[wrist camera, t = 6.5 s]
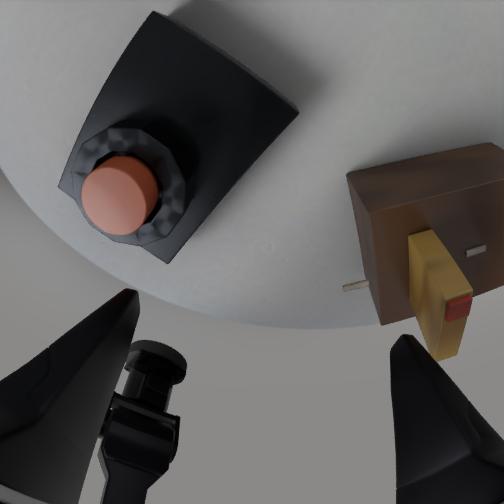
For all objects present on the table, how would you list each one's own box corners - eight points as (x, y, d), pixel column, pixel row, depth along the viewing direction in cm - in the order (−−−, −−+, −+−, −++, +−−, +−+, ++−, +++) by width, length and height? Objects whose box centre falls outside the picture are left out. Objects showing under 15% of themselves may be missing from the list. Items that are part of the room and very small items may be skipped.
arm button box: (176, 245, 21) (159, 283, 17) (74, 174, 18) (41, 200, 14) (297, 107, 15) (304, 119, 12) (166, 15, 12) (137, 4, 9)
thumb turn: (430, 294, 15) (458, 359, 11) (408, 300, 16) (434, 367, 12) (432, 228, 13) (476, 293, 9) (407, 235, 13) (447, 304, 9)
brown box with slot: (339, 281, 21) (352, 335, 17) (314, 181, 17) (328, 225, 13) (487, 239, 18) (520, 280, 14) (490, 142, 14) (539, 171, 10)
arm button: (139, 230, 16) (127, 248, 14) (88, 194, 15) (72, 209, 13) (172, 181, 14) (160, 196, 13) (114, 141, 13) (97, 152, 11)
